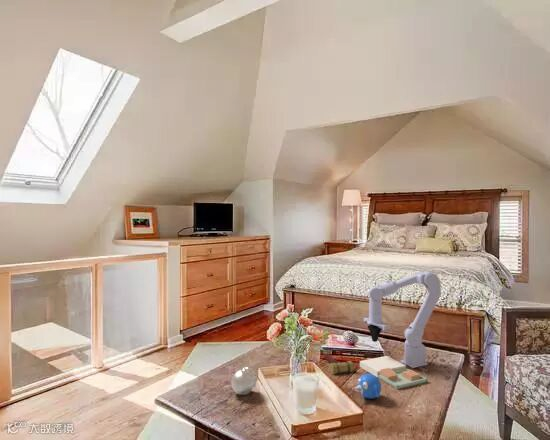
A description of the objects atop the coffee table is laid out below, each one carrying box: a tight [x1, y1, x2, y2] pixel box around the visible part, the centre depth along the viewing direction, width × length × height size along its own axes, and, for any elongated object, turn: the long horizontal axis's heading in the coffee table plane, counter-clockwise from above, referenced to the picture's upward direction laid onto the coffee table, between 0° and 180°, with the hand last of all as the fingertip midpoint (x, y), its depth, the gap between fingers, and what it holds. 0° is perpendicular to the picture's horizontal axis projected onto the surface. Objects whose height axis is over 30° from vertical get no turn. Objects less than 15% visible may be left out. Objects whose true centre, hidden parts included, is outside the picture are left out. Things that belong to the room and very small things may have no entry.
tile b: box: [380, 368, 398, 381], centre depth 150 cm, size 5×5×2 cm
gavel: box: [323, 353, 355, 375], centre depth 164 cm, size 21×5×10 cm
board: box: [359, 355, 407, 378], centre depth 160 cm, size 16×12×2 cm
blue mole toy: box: [351, 373, 382, 400], centre depth 134 cm, size 12×12×8 cm
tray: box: [377, 367, 428, 390], centre depth 149 cm, size 16×11×2 cm
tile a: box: [402, 369, 421, 381], centre depth 150 cm, size 5×5×2 cm
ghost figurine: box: [230, 366, 257, 396], centre depth 136 cm, size 9×10×10 cm
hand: (374, 341), depth 169 cm, fingers closed
